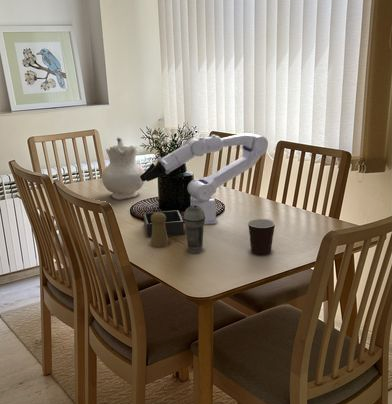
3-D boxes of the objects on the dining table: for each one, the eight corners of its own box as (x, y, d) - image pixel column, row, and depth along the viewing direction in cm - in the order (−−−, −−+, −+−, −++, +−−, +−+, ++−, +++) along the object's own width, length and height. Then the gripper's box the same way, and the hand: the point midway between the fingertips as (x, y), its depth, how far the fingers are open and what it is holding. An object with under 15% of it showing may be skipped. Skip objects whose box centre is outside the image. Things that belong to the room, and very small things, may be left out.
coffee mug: (267, 258, 175) (268, 229, 172) (243, 253, 179) (243, 225, 176) (282, 247, 184) (283, 218, 181) (259, 242, 189) (259, 215, 185)
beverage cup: (190, 256, 179) (188, 197, 172) (180, 249, 185) (178, 192, 178) (210, 252, 182) (209, 193, 175) (199, 245, 188) (198, 188, 181)
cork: (165, 247, 186) (164, 216, 183) (148, 246, 188) (147, 216, 184) (170, 241, 192) (168, 211, 188) (153, 240, 193) (152, 210, 189)
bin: (178, 222, 210) (178, 210, 209) (183, 234, 198) (183, 221, 196) (144, 225, 208) (143, 213, 206) (147, 237, 196) (146, 224, 194)
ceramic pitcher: (98, 194, 255) (89, 141, 245) (138, 185, 262) (130, 133, 252) (112, 206, 236) (103, 150, 227) (154, 196, 243) (147, 141, 234)
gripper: (164, 151, 204) (133, 169, 202) (174, 148, 191) (141, 168, 188) (173, 167, 206) (143, 186, 203) (184, 166, 192) (152, 186, 190)
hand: (143, 179), depth 196 cm, fingers open, 7 cm apart
